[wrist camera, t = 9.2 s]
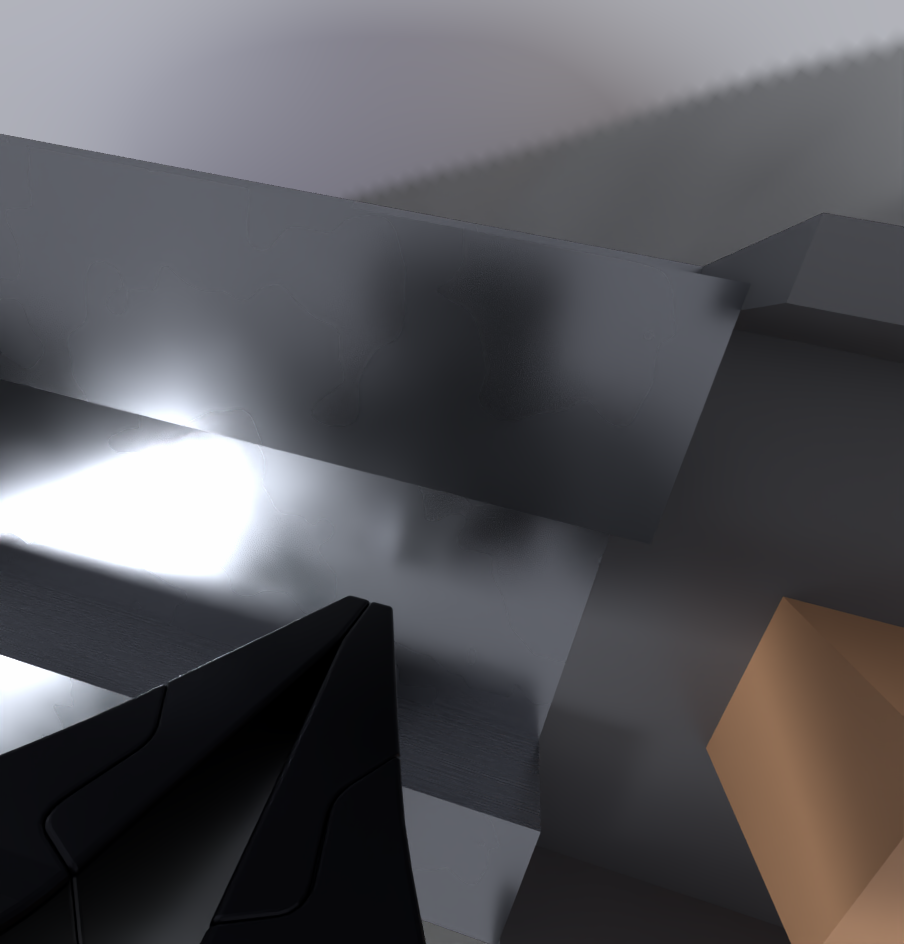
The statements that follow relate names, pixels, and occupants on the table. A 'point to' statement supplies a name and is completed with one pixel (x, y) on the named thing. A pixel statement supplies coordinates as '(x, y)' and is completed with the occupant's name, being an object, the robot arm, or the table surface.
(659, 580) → the tray
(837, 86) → the table surface
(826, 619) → the chip
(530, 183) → the table surface
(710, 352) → the slot board
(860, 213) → the table surface
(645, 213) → the table surface
